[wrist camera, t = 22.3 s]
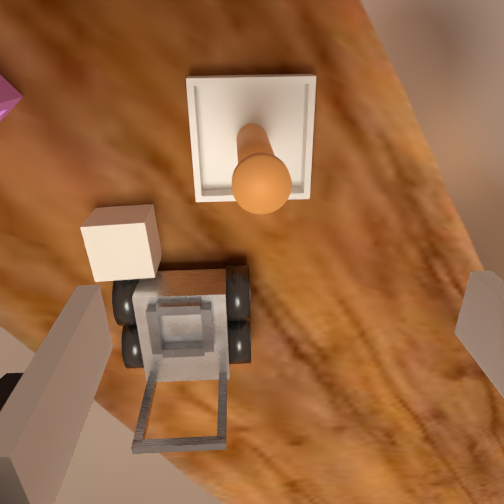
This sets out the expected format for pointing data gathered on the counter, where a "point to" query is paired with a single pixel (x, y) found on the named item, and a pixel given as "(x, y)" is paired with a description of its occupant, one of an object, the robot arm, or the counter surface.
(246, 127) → the pin
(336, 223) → the counter surface
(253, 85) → the tray
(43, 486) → the robot arm
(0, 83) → the bracket
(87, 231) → the off-white matte cube
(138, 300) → the trolley
